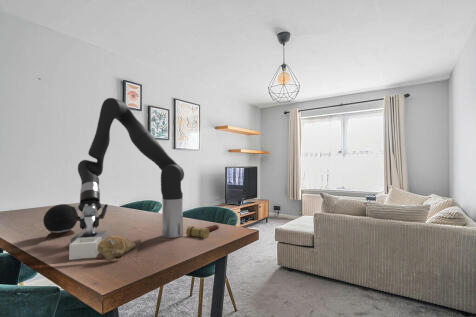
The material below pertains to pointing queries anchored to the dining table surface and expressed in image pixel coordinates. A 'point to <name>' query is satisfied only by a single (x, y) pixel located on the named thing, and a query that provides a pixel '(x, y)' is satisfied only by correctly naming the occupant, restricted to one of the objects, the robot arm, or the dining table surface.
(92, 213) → the grey tall cylinder
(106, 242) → the seashell
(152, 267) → the dining table surface
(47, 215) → the black rounded disc
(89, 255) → the block
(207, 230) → the gavel
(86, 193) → the robot arm
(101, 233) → the socket block
